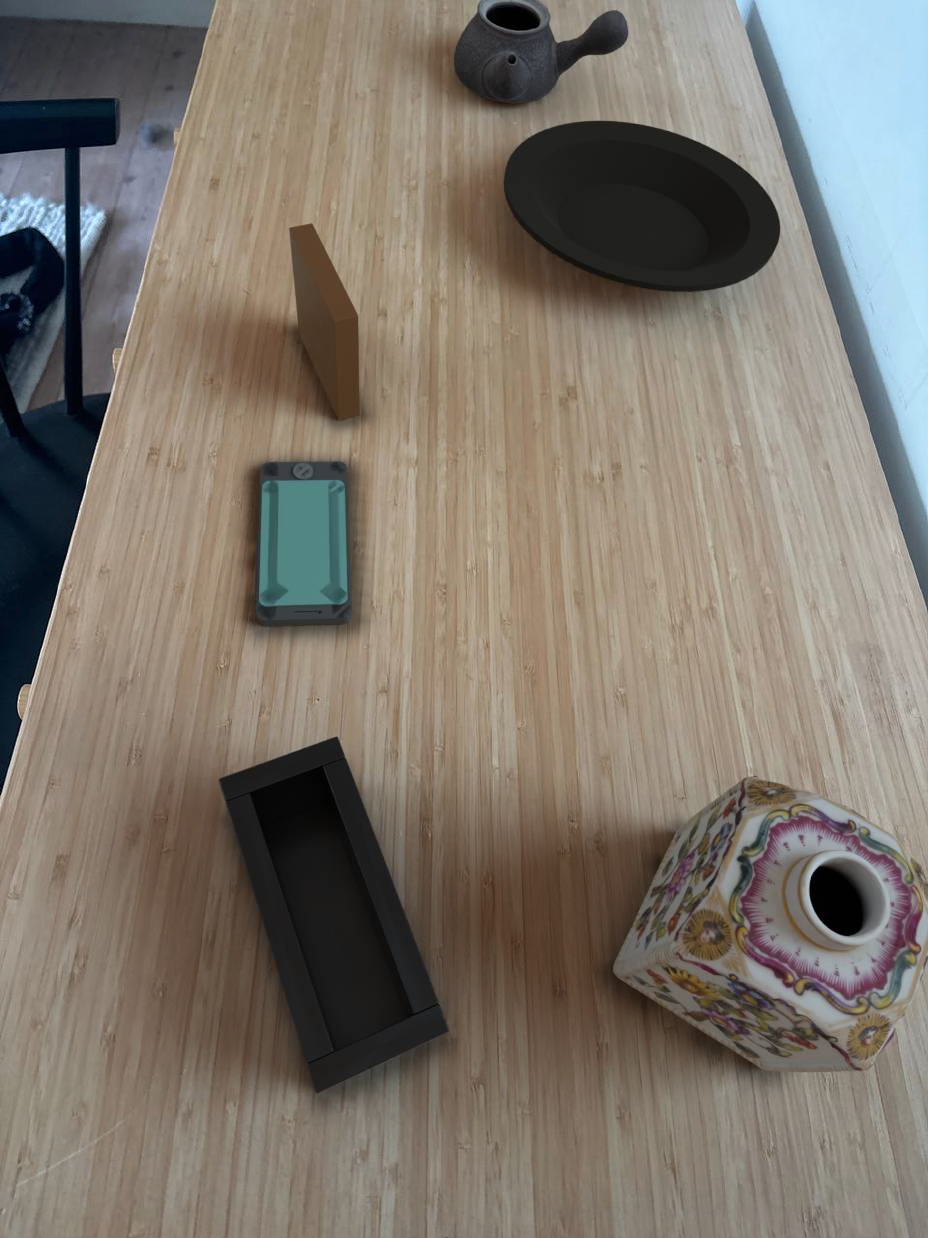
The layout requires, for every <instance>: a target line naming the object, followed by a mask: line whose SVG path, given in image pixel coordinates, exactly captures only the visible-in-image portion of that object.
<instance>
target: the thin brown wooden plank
mask: <svg viewBox="0 0 928 1238" xmlns="http://www.w3.org/2000/svg"><path fill="white" fill-rule="evenodd" d="M288 231H289V241H290V242H289V243H290V253H291V263H292V274H293V275H292V276H293V285H294V295H295V309H296V317H297V329H298V335H299V337H300V339H301V342H302V343H303V346H304V348H305V350H306V352H307V354H308V357H309V359H310V362H311V363H312V366H313V368H314V370H315V372H316V375H317V377H318V379H319V382H320V384H321V386H322V388H323V390H324V393H325V395H326V396H327V399H328V401H329V403H330V406H331V407H332V409H333V412H334V414H335V417H336V419H337V420H338V421H342V420H347V419H350V418H354V417H355V418H356V417H358V416H360V415H361V413H360V412H361V411H360V409H361V407H360V342H359V341H360V339H359V338H360V337H359V335H360V334H359V329H360V328H359V314H358V312H357V309H356V308H355V306H354V304H353V301H352V300H351V298H350V296H349V294H348V292H347V290H346V288H345V286H344V284H343V282H342V280H341V278H340V276H339V274H338V271H337V270H336V267H335V266H334V264H333V262H332V260H331V258H330V256H329V254H328V251H327V250H326V247H325V246H324V244H323V242H322V240H321V238H320V236H319V234H318V231H317V230H316V228H315V225H314V224H313V223H312V222H311V223H306V224H305V223H304V224H301V225H300V224H299V225H295V226H290V227H288Z"/></svg>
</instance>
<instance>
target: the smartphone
mask: <svg viewBox="0 0 928 1238" xmlns="http://www.w3.org/2000/svg"><path fill="white" fill-rule="evenodd" d="M259 475H260V477H259V506H258V507H259V509H258V532H257V534H256V536H255V537H256V538H255V539H256V540H255V561H256V564H255V568H254V575H255V576H254V582H255V583H254V602H255V604H256V608H255V610H256V612H255V615H256V618H257V621H258V623H259V624H260V625H261V626H263V627H281V626H284V627H285V626H314V625H316V626H318V625H344V624H345V625H346V624H347V623H349V622H350V621H351V619H352V616H353V615H352V585H351V584H352V583H351V581H352V580H351V552H350V550H351V547H350V546H351V545H350V514H349V513H350V512H349V479H348V478H349V476H348V475H349V474H348V466H347V464H346V463H345V462H343V461H340V460H339V461H335V460H334V461H267V462H264V463H263V464H261V465H260V473H259Z"/></svg>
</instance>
